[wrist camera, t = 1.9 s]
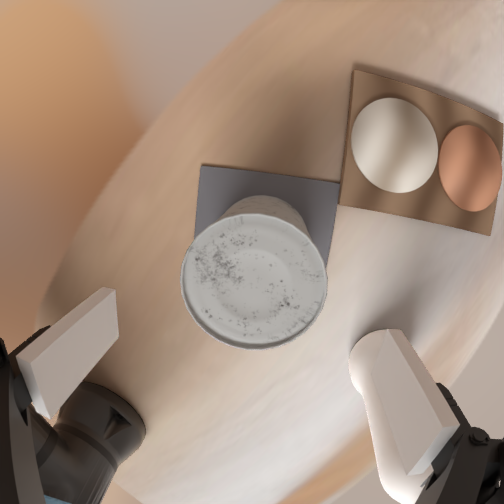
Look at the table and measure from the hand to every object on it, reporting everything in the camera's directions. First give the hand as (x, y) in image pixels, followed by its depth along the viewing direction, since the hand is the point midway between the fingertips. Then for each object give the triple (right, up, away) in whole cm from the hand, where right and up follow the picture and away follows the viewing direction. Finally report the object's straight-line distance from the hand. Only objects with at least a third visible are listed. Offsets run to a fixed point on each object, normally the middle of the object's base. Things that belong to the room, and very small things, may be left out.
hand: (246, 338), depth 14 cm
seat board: (+20, +14, +14) cm, 28 cm away
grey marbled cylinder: (+1, +5, +18) cm, 19 cm away
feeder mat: (+1, +5, +18) cm, 19 cm away
